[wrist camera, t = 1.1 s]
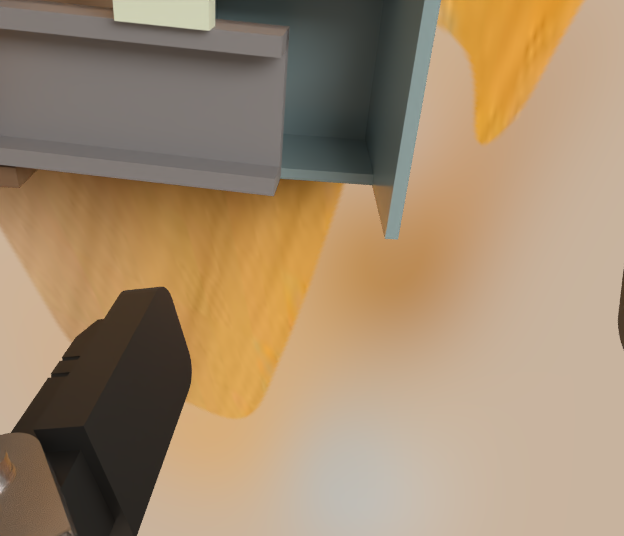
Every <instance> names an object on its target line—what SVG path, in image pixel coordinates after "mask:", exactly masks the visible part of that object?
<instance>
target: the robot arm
mask: <svg viewBox="0 0 624 536" xmlns="http://www.w3.org/2000/svg"><path fill="white" fill-rule="evenodd" d="M618 329H619V335H620V340H621V343H622V346H623V349H624V271H623V279H622V288H621V297H620V305H619V315H618ZM62 359H63V360H62V361H59V363H58V364H57V366H56V367H55V369H54V370H53V372H52V373H51V378H48V379H47V381H46V382H45V383H44V385H43V386H42V388H41V389H40V391H39V392H38V394H37V395H36V397H35V398H34V399H33V401H32V402H31V404H30V405H29V407H28V408H27V410H26V411H25V413H24V414H23V416H22V417H21V419H20V420H19V422H18V423H17V424H16V426H15V427H14V429H13V430H12V432H11V433H8V434H3V435H0V536H137V534H138V531H139V528H140V525H141V523H142V520H143V517H144V514H145V511H146V509H147V505H148V503H149V500H150V497H151V494H152V492H153V489H154V486H155V483H156V480H157V478H158V475H159V472H160V469H161V467H162V464H163V461H164V458H165V455H166V452H167V450H168V447H169V444H170V441H171V438H172V436H173V433H174V430H175V427H176V425H177V422H178V419H179V416H180V413H181V411H182V408H183V405H184V402H185V399H186V397H187V394H188V391H189V388H190V384H191V376H192V367H191V359H190V354H189V351H188V348H187V344H186V341H185V338H184V335H183V332H182V329H181V325H180V322H179V319H178V316H177V313H176V310H175V306H174V303H173V300H172V297H171V295H170V293H169V291H168V290H167V289H166V288H165V287H155V288H145V289H135V290H126V291H123V292H121V294H120V295H119V296H118V298H117V299H116V301H115V303H114V304H113V306H112V307H111V309H110V310H109V312H108V314H107V315H106V317H105V318H104V319H101V320H97V321H96V322H94V323H93V324H92V325H91V326H89V327H88V328H87V329H86V330H84V331H83V332H82V333H81V334H79V335H78V336H77V337H76V338H75V339H74V341H73V342H72V344H71V345H70V347H69V348H68V349H67V351H66V352H65V354H64V355H63V357H62Z"/></svg>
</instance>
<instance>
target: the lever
mask: <svg viewBox="0 0 624 536" xmlns="http://www.w3.org/2000/svg"><path fill="white" fill-rule="evenodd" d="M289 29H290V26H281V25H271V24H262V23H252V22H242V21H233V20H223V19H215V0H113V8H108V7H99V6H89V5H80V4H70V3H61V2H51V1H41V0H0V165H7V166H16V167H25V168H34V169H42V170H51V171H60V172H68V173H77V174H86V175H94V176H103V177H112V178H120V179H129V180H138V181H146V182H155V183H164V184H173V185H181V186H190V187H199V188H207V189H216V190H225V191H233V192H242V193H251V194H259V195H268V196H274V194H275V192H276V189H277V186H278V183H279V180H280V178H281V165H282V148H283V131H284V114H285V97H286V80H287V63H288V46H289Z"/></svg>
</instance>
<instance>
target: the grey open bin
mask: <svg viewBox="0 0 624 536" xmlns="http://www.w3.org/2000/svg"><path fill="white" fill-rule="evenodd" d="M440 3H441V0H215V19H223V20H233V21H242V22H252V23H262V24H271V25H281V26H290V29H289V46H288V63H287V80H286V97H285V114H284V131H283V148H282V165H281V178H280V179H294V180H308V181H322V182H335V183H349V184H363V185H372V187H373V191H374V195H375V199H376V203H377V208H378V212H379V216H380V220H381V224H382V229H383V233H384V237H385V239H398V235H399V230H400V225H401V219H402V213H403V208H404V203H405V197H406V191H407V186H408V180H409V175H410V169H411V163H412V158H413V152H414V147H415V141H416V136H417V130H418V125H419V119H420V114H421V108H422V103H423V97H424V91H425V86H426V80H427V74H428V69H429V63H430V58H431V53H432V47H433V41H434V36H435V30H436V25H437V19H438V14H439V8H440Z"/></svg>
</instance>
